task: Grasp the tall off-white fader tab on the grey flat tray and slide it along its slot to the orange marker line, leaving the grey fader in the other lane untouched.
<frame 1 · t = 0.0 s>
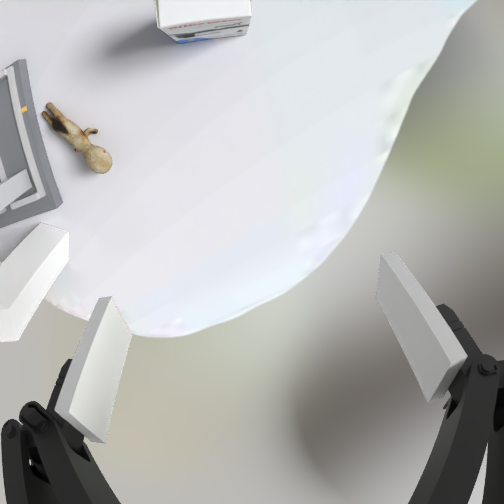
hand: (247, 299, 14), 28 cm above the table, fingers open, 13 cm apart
figurine: (81, 132, 34), on the table
fader b: (1, 194, 30), point 7 cm above the table, slide at 0.0 cm
milk: (54, 241, 42), on the table
ink box: (210, 22, 28), on the table
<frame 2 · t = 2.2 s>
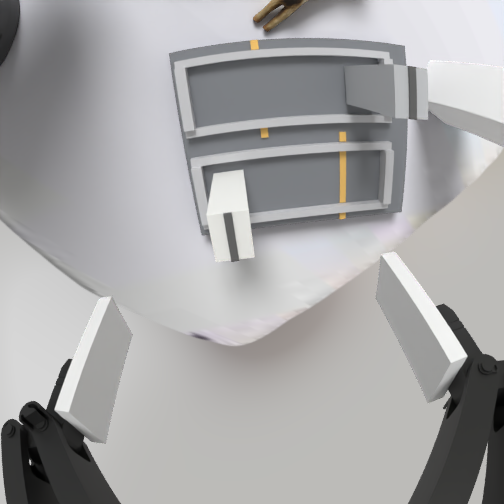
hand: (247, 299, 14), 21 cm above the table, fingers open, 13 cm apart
fader a: (231, 209, 26), point 7 cm above the table, slide at 0.0 cm
fader b: (382, 88, 21), point 7 cm above the table, slide at 0.0 cm
milk: (436, 91, 27), on the table
grey flat tray: (300, 130, 30), on the table
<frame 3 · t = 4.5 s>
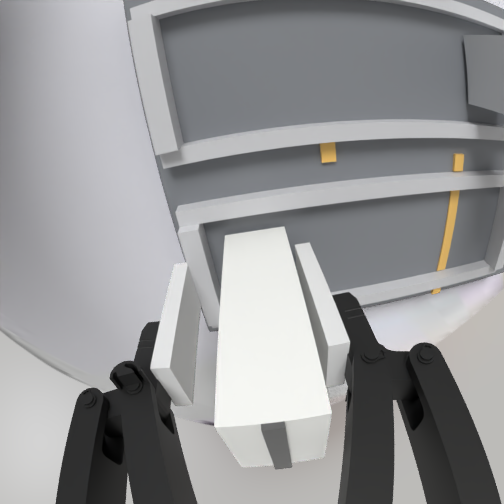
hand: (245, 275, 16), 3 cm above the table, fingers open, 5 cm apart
fader a: (267, 334, 12), point 7 cm above the table, slide at 0.0 cm
grey flat tray: (384, 146, 15), on the table
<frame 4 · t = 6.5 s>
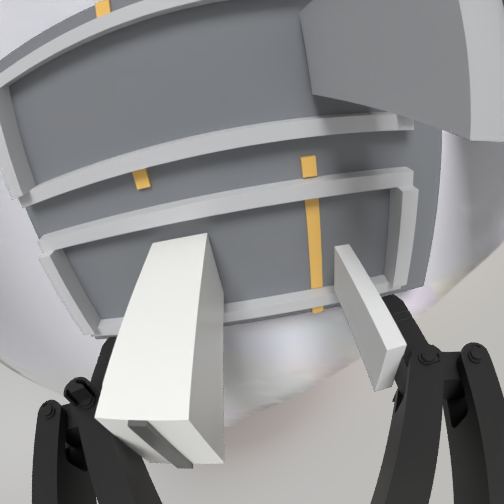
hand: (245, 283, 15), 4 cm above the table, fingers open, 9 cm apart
fader a: (177, 339, 12), point 7 cm above the table, slide at 5.1 cm, touching gripper
fader b: (392, 41, 6), point 7 cm above the table, slide at 0.0 cm
grey flat tray: (224, 159, 16), on the table
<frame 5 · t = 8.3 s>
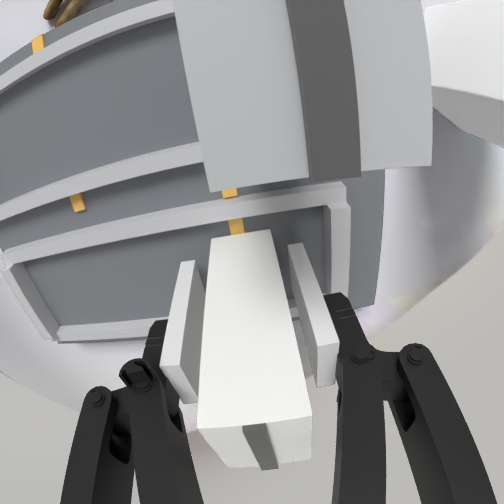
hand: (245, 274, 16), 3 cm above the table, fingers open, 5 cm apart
fader a: (253, 337, 12), point 7 cm above the table, slide at 12.1 cm
fader b: (266, 52, 7), point 7 cm above the table, slide at 0.0 cm
milk: (445, 69, 13), on the table
grey flat tray: (156, 179, 16), on the table
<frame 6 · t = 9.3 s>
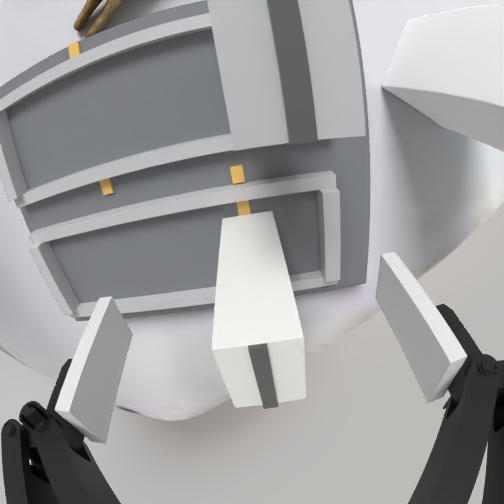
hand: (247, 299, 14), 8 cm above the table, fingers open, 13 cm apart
fader a: (257, 295, 15), point 7 cm above the table, slide at 12.1 cm
fader b: (267, 67, 9), point 7 cm above the table, slide at 0.0 cm
milk: (426, 73, 15), on the table
grey flat tray: (174, 169, 19), on the table
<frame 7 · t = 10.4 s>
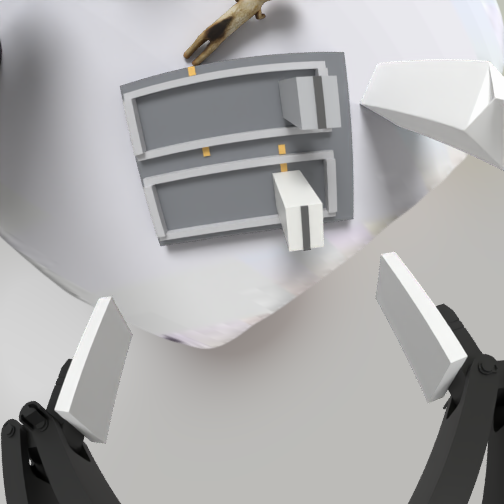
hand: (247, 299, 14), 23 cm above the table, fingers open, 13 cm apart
fader a: (295, 205, 29), point 7 cm above the table, slide at 12.1 cm
figurine: (238, 18, 25), on the table
fader b: (305, 99, 24), point 7 cm above the table, slide at 0.0 cm
milk: (387, 94, 30), on the table
grey flat tray: (243, 146, 33), on the table
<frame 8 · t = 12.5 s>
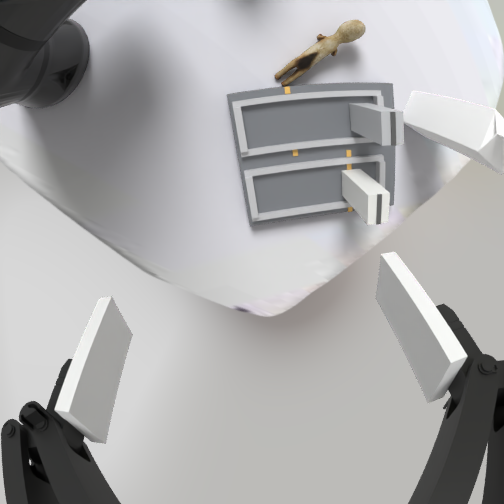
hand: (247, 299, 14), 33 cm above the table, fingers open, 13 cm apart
fader a: (363, 194, 39), point 7 cm above the table, slide at 12.1 cm
figurine: (316, 51, 35), on the table
fader b: (374, 121, 33), point 7 cm above the table, slide at 0.0 cm
milk: (418, 113, 39), on the table
grey flat tray: (318, 149, 42), on the table
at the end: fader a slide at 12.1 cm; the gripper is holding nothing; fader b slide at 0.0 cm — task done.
